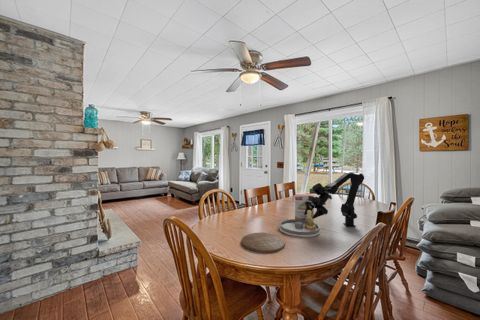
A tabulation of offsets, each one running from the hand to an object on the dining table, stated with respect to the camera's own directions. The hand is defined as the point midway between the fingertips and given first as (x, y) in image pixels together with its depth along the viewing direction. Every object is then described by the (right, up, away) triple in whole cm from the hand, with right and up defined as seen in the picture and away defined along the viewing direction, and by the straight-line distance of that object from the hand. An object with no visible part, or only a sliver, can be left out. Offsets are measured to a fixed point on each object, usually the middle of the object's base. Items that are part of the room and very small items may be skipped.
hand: (308, 216), depth 140 cm
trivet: (-34, -10, -21) cm, 41 cm away
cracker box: (+3, -9, +19) cm, 22 cm away
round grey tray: (-6, -9, +1) cm, 11 cm away
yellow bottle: (+1, -8, 0) cm, 8 cm away
